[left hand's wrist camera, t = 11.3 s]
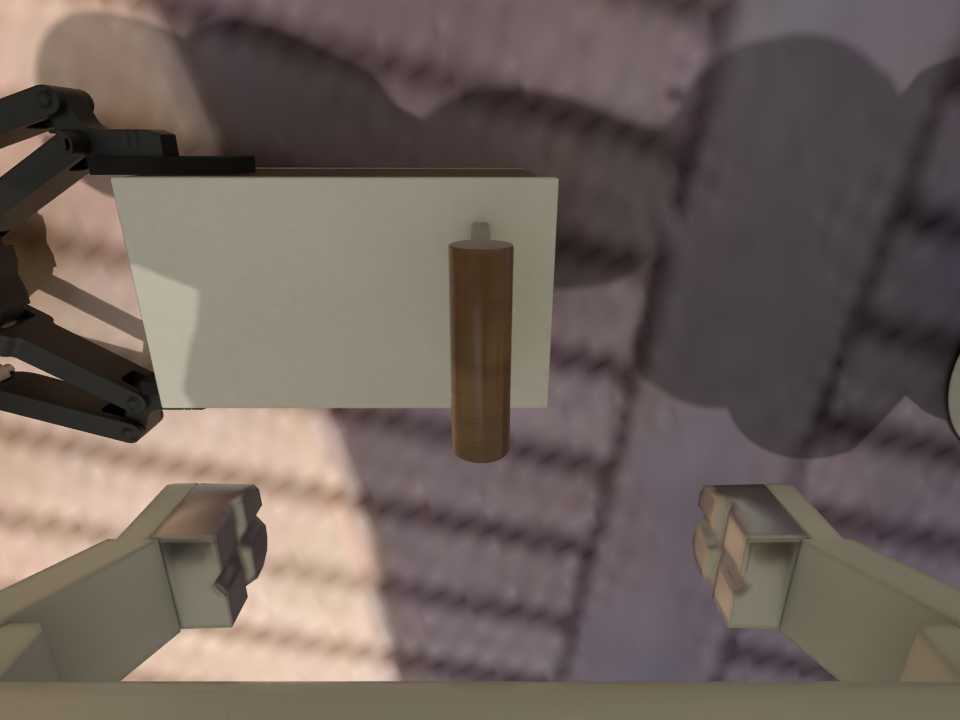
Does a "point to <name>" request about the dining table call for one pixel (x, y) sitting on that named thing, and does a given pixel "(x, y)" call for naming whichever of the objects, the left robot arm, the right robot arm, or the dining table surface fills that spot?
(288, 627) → the dining table surface
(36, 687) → the left robot arm
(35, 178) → the right robot arm
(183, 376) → the lid
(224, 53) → the dining table surface
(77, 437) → the dining table surface
